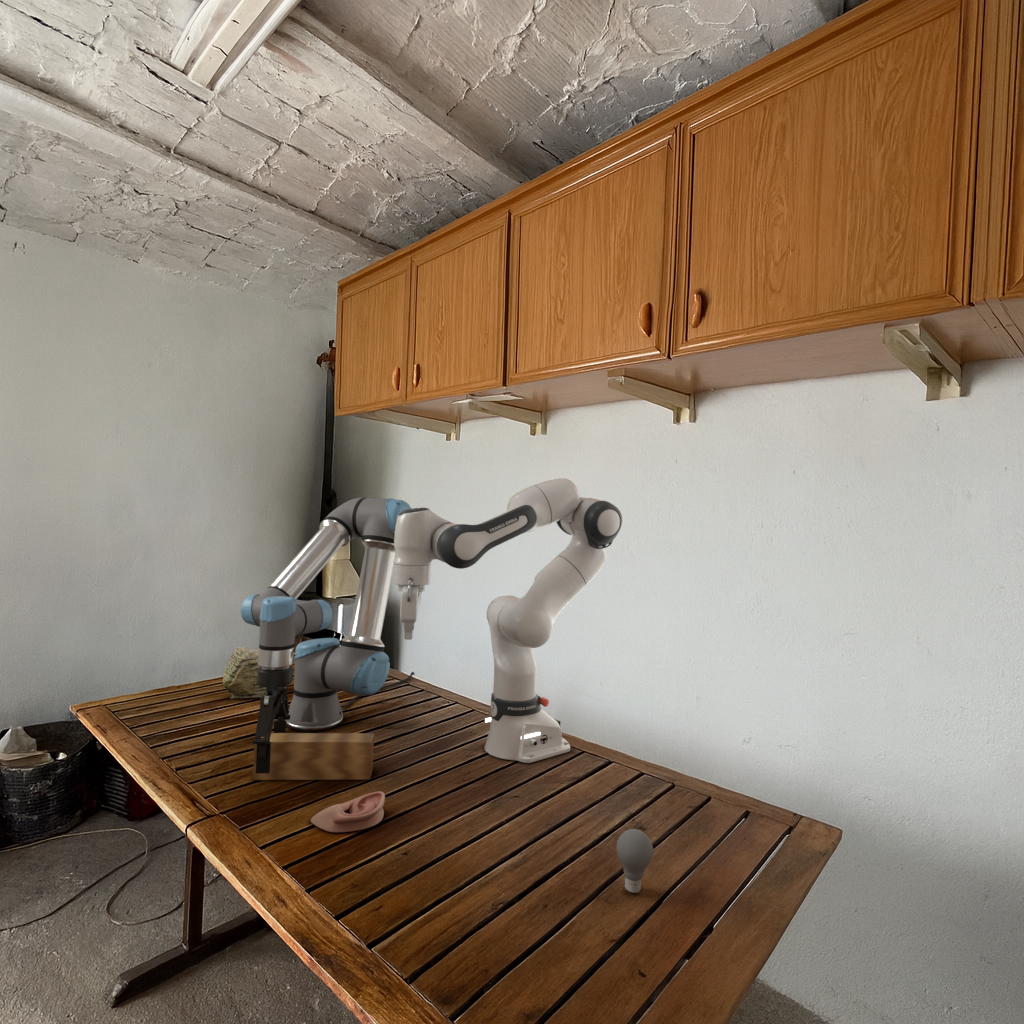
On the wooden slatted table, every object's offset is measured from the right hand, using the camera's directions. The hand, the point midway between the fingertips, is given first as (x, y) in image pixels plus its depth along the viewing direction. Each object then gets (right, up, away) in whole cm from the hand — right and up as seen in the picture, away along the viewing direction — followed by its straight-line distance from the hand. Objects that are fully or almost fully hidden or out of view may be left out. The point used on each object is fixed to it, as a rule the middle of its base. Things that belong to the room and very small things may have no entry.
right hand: (409, 634), depth 150 cm
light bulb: (+44, -34, -44) cm, 71 cm away
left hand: (-30, -27, -7) cm, 41 cm away
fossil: (-56, -28, +48) cm, 79 cm away
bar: (-21, -31, -6) cm, 38 cm away
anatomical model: (-8, -32, -25) cm, 41 cm away
